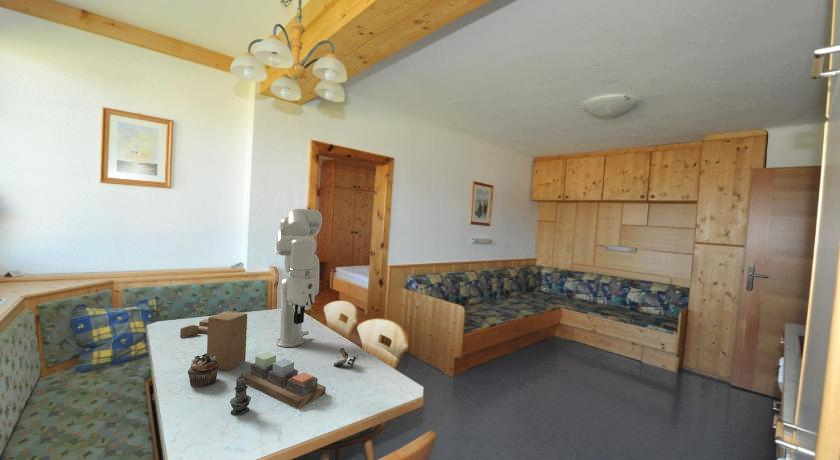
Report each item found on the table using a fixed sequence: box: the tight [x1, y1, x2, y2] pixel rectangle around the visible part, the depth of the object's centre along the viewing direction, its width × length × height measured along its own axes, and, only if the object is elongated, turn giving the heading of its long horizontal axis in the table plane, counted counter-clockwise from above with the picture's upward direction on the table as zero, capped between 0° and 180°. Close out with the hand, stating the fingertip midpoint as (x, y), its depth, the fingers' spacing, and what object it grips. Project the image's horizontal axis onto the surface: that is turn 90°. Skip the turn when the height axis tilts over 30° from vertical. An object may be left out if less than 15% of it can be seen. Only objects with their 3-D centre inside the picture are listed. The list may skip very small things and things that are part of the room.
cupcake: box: [187, 352, 220, 389], centre depth 124 cm, size 10×10×10 cm
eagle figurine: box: [333, 347, 359, 369], centre depth 145 cm, size 8×7×9 cm
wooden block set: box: [179, 318, 208, 338], centre depth 172 cm, size 17×6×18 cm
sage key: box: [254, 351, 277, 369], centre depth 129 cm, size 5×5×4 cm
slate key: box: [273, 358, 295, 376], centre depth 123 cm, size 5×5×4 cm
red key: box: [292, 371, 315, 385], centre depth 118 cm, size 5×5×4 cm
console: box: [242, 362, 327, 410], centre depth 124 cm, size 12×30×6 cm, turn 59°
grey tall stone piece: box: [229, 372, 252, 417], centre depth 108 cm, size 6×6×12 cm
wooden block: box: [206, 310, 248, 372], centre depth 139 cm, size 10×10×20 cm
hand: (298, 322), depth 126 cm, fingers closed
